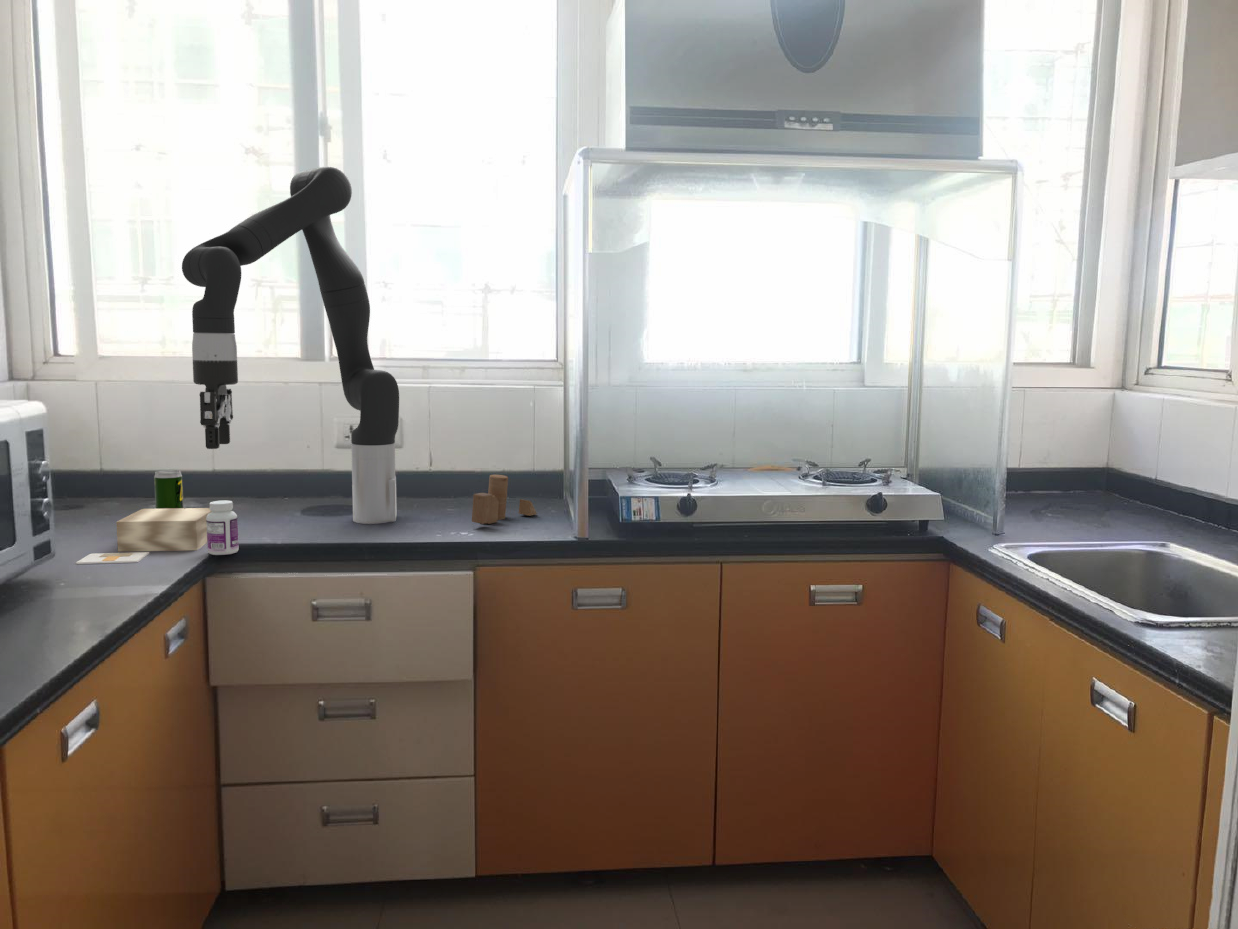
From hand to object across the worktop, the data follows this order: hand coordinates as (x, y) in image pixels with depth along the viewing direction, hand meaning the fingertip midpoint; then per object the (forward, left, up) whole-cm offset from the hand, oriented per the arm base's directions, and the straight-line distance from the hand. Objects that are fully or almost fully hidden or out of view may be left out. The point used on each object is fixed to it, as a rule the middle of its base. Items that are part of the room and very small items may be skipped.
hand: (218, 446), depth 170 cm
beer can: (+16, -26, -20) cm, 37 cm away
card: (+18, +3, -20) cm, 27 cm away
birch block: (+12, -10, -20) cm, 26 cm away
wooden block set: (-53, -22, -20) cm, 61 cm away
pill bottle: (0, 0, -20) cm, 20 cm away
